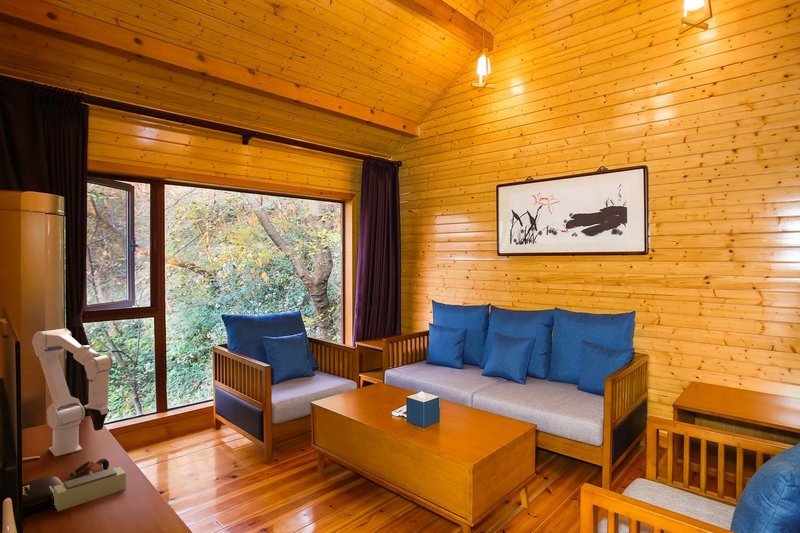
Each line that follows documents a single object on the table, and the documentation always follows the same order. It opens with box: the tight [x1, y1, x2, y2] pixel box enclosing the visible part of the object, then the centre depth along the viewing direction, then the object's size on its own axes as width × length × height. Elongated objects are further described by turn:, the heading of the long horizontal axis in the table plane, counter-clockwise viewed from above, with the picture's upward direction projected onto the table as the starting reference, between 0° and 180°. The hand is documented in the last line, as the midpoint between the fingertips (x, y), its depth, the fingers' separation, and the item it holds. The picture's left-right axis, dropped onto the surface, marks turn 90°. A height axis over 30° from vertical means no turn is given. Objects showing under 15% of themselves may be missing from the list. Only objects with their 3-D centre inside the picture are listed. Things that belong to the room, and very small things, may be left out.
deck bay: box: [48, 466, 127, 512], centre depth 133 cm, size 11×17×6 cm, turn 139°
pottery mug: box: [66, 457, 110, 481], centre depth 138 cm, size 12×10×8 cm
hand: (98, 429), depth 155 cm, fingers closed
